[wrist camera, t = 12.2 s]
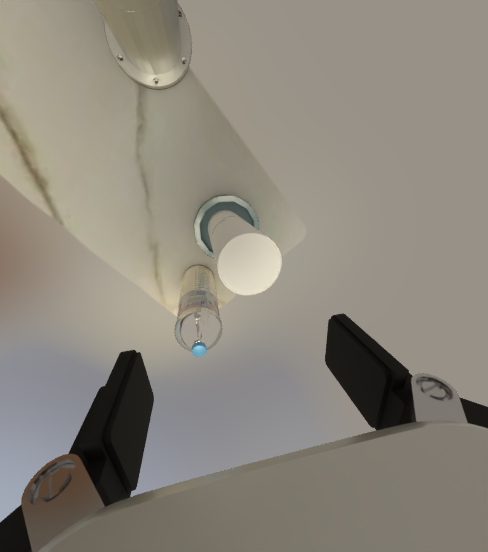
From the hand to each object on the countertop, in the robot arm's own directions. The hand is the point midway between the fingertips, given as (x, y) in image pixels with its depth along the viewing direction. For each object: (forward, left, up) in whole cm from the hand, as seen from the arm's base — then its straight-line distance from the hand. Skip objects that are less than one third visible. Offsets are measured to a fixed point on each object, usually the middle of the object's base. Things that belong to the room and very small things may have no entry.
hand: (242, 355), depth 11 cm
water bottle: (+12, -3, -40) cm, 42 cm away
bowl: (+1, +4, -40) cm, 40 cm away
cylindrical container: (0, +4, -39) cm, 39 cm away
